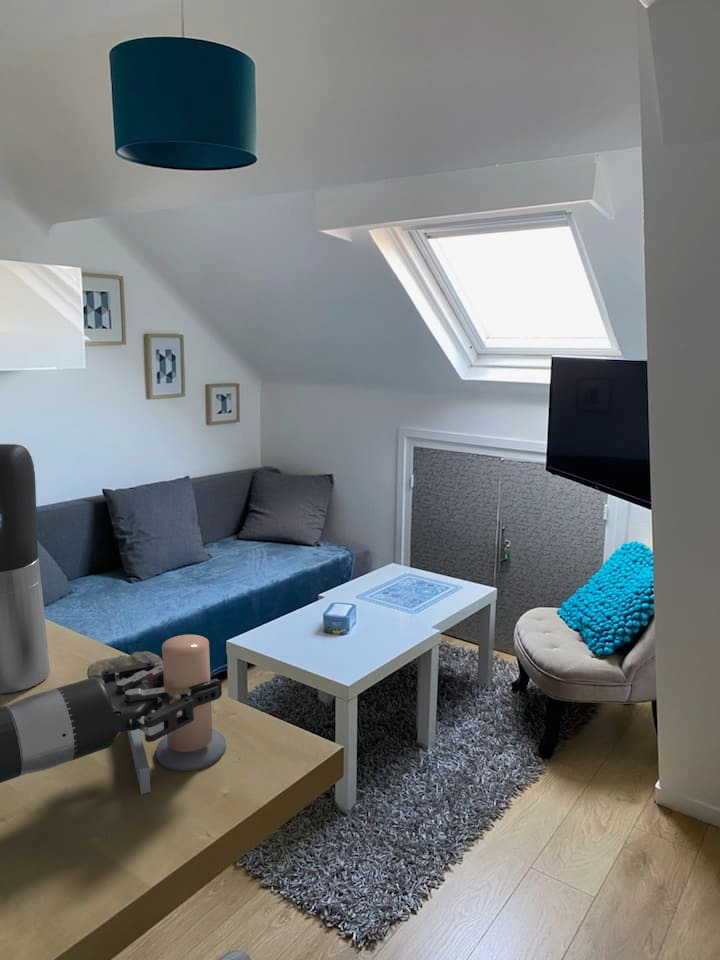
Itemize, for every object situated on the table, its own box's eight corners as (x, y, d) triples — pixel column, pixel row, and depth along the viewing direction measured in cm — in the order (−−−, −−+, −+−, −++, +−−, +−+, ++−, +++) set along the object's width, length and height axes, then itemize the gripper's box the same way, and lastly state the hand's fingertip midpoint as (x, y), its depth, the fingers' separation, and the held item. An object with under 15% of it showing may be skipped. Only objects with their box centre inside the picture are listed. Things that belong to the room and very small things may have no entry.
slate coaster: (151, 739, 89) (151, 735, 89) (217, 725, 92) (217, 721, 92) (162, 777, 82) (161, 773, 82) (233, 760, 85) (232, 756, 85)
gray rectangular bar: (126, 727, 92) (124, 705, 91) (134, 725, 92) (133, 703, 91) (141, 794, 79) (139, 769, 78) (150, 792, 79) (149, 767, 79)
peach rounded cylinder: (163, 732, 88) (158, 639, 85) (207, 723, 90) (203, 631, 87) (171, 756, 83) (166, 658, 80) (216, 745, 85) (213, 649, 82)
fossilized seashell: (141, 713, 92) (128, 658, 92) (76, 725, 95) (64, 672, 96) (190, 688, 102) (178, 638, 102) (130, 700, 105) (119, 652, 106)
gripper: (79, 722, 70) (237, 671, 80) (36, 666, 81) (180, 627, 91) (85, 792, 71) (239, 733, 82) (42, 727, 82) (183, 682, 93)
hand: (207, 677), depth 86 cm, fingers closed on peach rounded cylinder, 5 cm apart
